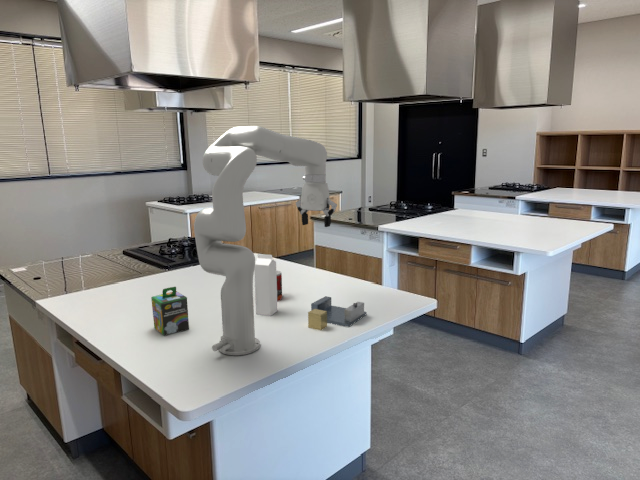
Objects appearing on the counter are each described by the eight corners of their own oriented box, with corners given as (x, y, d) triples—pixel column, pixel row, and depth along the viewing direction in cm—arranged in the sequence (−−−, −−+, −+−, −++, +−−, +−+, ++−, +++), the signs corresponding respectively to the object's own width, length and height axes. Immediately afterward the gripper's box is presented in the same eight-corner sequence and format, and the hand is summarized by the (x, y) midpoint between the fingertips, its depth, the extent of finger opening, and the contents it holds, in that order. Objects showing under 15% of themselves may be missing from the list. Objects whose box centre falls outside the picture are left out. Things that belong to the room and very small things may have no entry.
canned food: (279, 302, 184) (278, 275, 182) (259, 301, 185) (259, 274, 183) (284, 296, 191) (283, 270, 189) (265, 295, 193) (265, 269, 191)
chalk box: (179, 322, 164) (176, 281, 161) (190, 329, 157) (187, 287, 154) (153, 328, 158) (149, 286, 155) (163, 336, 151) (159, 292, 148)
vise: (348, 327, 157) (348, 312, 156) (308, 318, 165) (308, 305, 165) (366, 314, 169) (366, 301, 168) (328, 307, 177) (328, 294, 176)
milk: (263, 309, 176) (261, 252, 172) (277, 310, 174) (276, 253, 170) (255, 314, 171) (253, 255, 167) (270, 316, 169) (268, 256, 165)
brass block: (321, 330, 155) (320, 314, 154) (308, 327, 157) (308, 312, 156) (327, 326, 158) (327, 311, 157) (314, 324, 161) (314, 308, 160)
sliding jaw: (351, 322, 159) (351, 308, 158) (344, 320, 160) (344, 306, 159) (364, 313, 167) (364, 300, 166) (357, 312, 168) (357, 298, 167)
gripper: (290, 179, 172) (291, 225, 175) (331, 180, 163) (331, 228, 166) (301, 178, 178) (302, 222, 181) (341, 179, 169) (341, 225, 173)
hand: (316, 225), depth 174 cm, fingers open, 9 cm apart
